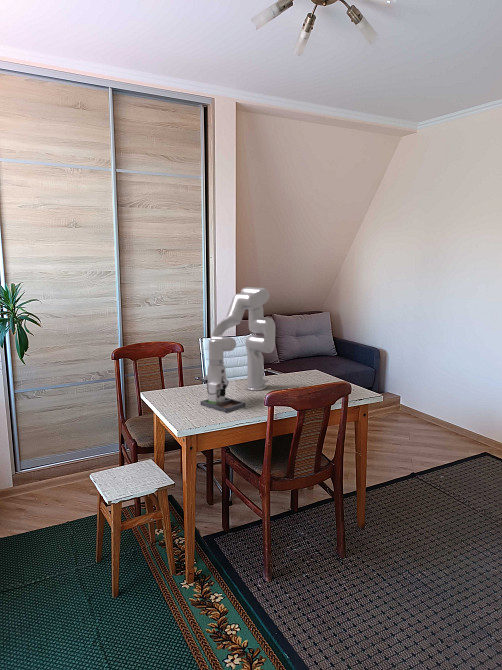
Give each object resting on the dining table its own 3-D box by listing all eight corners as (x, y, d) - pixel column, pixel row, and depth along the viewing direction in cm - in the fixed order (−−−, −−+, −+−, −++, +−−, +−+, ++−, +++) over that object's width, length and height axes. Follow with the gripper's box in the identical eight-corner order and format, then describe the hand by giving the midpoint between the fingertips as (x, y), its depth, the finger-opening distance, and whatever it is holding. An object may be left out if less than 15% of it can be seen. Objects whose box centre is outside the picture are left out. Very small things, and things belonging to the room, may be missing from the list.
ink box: (215, 406, 242) (215, 384, 240) (208, 405, 244) (207, 383, 242) (225, 402, 249) (225, 381, 247) (217, 401, 252) (217, 379, 250)
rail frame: (219, 399, 255) (219, 395, 255) (245, 406, 242) (245, 402, 242) (200, 405, 245) (200, 401, 244) (226, 412, 232) (226, 408, 232)
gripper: (233, 363, 240) (233, 395, 243) (210, 359, 252) (210, 389, 254) (222, 365, 235) (222, 398, 237) (199, 361, 246) (200, 392, 249)
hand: (216, 394), depth 246 cm, fingers open, 9 cm apart
